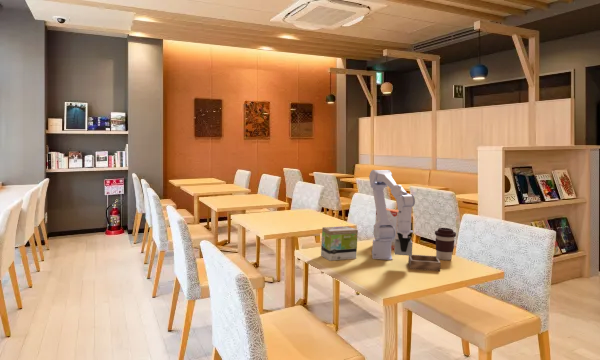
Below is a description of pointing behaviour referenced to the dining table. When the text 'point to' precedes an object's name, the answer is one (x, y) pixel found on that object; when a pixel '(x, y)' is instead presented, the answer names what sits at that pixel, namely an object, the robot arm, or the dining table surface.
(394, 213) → the cracker box
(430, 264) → the walnut crate
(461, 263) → the dining table surface
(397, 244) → the grey crate
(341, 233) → the tea box
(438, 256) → the coffee cup
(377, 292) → the dining table surface
